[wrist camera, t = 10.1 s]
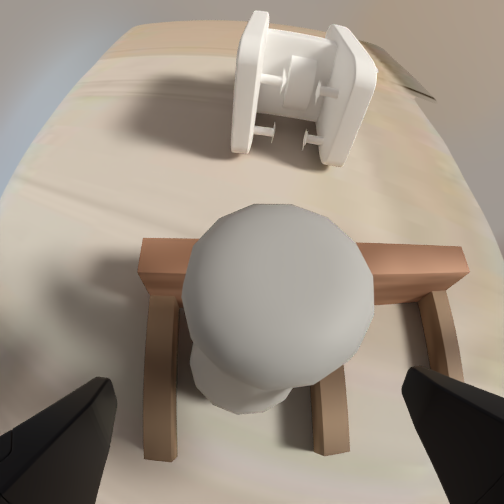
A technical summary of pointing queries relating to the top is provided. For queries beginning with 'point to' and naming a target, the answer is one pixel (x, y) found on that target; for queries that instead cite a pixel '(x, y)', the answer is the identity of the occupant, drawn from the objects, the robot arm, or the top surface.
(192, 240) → the wooden letter e
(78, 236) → the top surface
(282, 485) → the top surface
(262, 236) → the salt shaker
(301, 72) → the cable organizer
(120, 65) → the top surface
